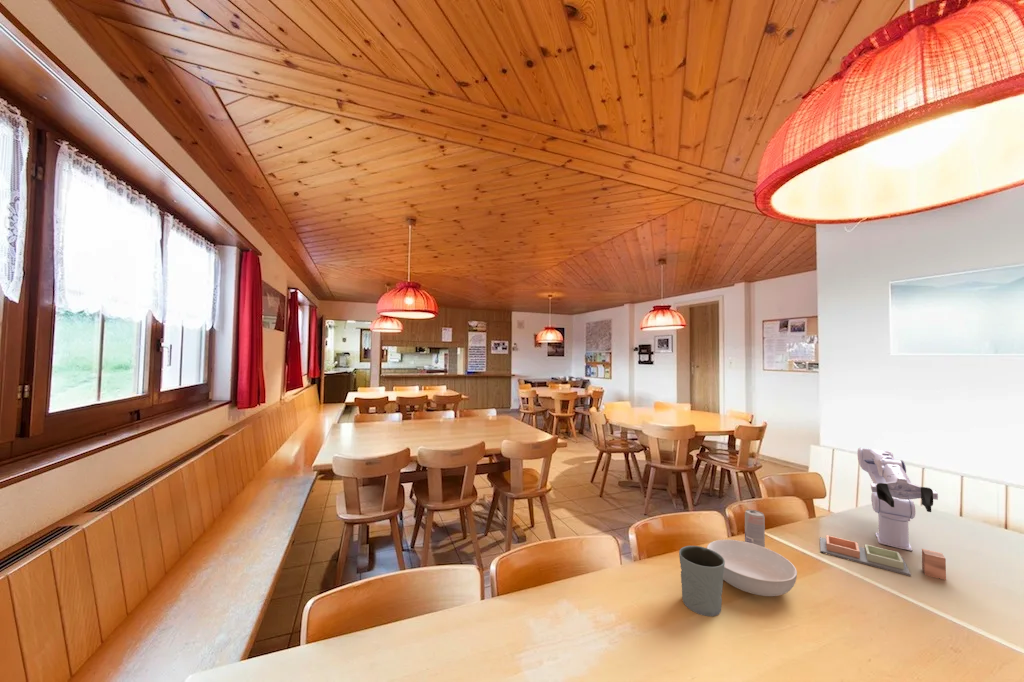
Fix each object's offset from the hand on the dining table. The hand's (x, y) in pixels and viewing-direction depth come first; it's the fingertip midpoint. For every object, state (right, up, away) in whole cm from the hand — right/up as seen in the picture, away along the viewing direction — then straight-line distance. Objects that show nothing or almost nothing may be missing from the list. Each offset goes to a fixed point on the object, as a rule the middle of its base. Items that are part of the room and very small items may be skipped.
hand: (910, 506), depth 112 cm
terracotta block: (+4, -19, -2) cm, 19 cm away
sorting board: (-8, -19, +7) cm, 22 cm away
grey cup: (-72, -16, -19) cm, 76 cm away
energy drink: (-41, -18, +9) cm, 45 cm away
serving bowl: (-53, -17, -9) cm, 57 cm away
